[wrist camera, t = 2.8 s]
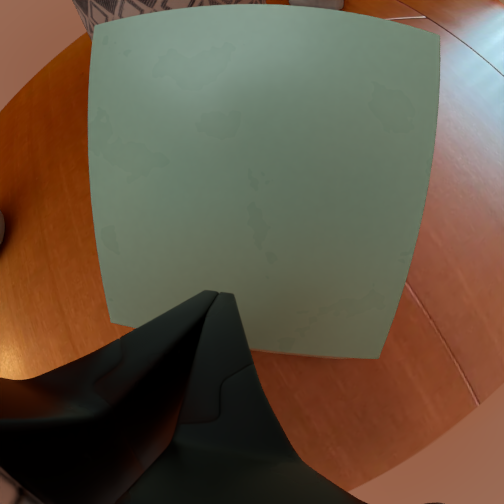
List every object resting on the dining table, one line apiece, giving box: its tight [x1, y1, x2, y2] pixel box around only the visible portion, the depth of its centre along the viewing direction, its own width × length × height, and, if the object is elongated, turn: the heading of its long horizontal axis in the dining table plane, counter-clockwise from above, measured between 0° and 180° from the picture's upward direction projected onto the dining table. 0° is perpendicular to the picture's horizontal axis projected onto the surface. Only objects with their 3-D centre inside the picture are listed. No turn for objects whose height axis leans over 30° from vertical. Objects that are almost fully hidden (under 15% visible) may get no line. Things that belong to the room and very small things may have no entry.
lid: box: [88, 4, 440, 359], centre depth 12 cm, size 14×14×1 cm
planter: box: [73, 0, 266, 41], centre depth 25 cm, size 19×19×16 cm
